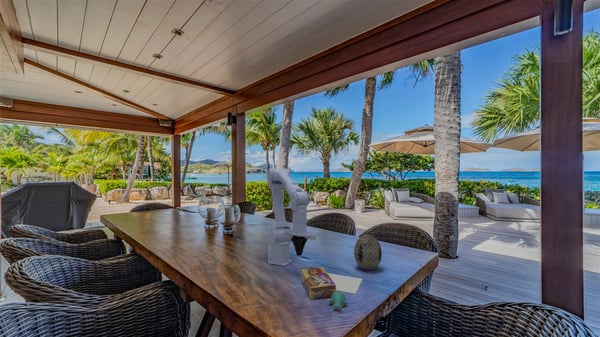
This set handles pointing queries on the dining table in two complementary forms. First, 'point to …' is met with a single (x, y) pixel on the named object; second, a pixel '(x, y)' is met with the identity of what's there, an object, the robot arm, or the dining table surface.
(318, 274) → the candy box
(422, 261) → the dining table surface
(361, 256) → the decorative egg
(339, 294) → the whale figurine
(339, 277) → the mat
